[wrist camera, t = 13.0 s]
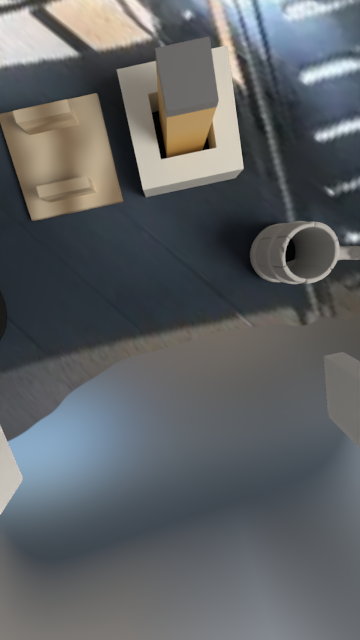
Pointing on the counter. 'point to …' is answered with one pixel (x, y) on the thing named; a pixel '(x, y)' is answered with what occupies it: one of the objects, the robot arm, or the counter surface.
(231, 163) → the port
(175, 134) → the plug
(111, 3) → the counter surface
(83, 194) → the beige plate with rail
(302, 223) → the mug
